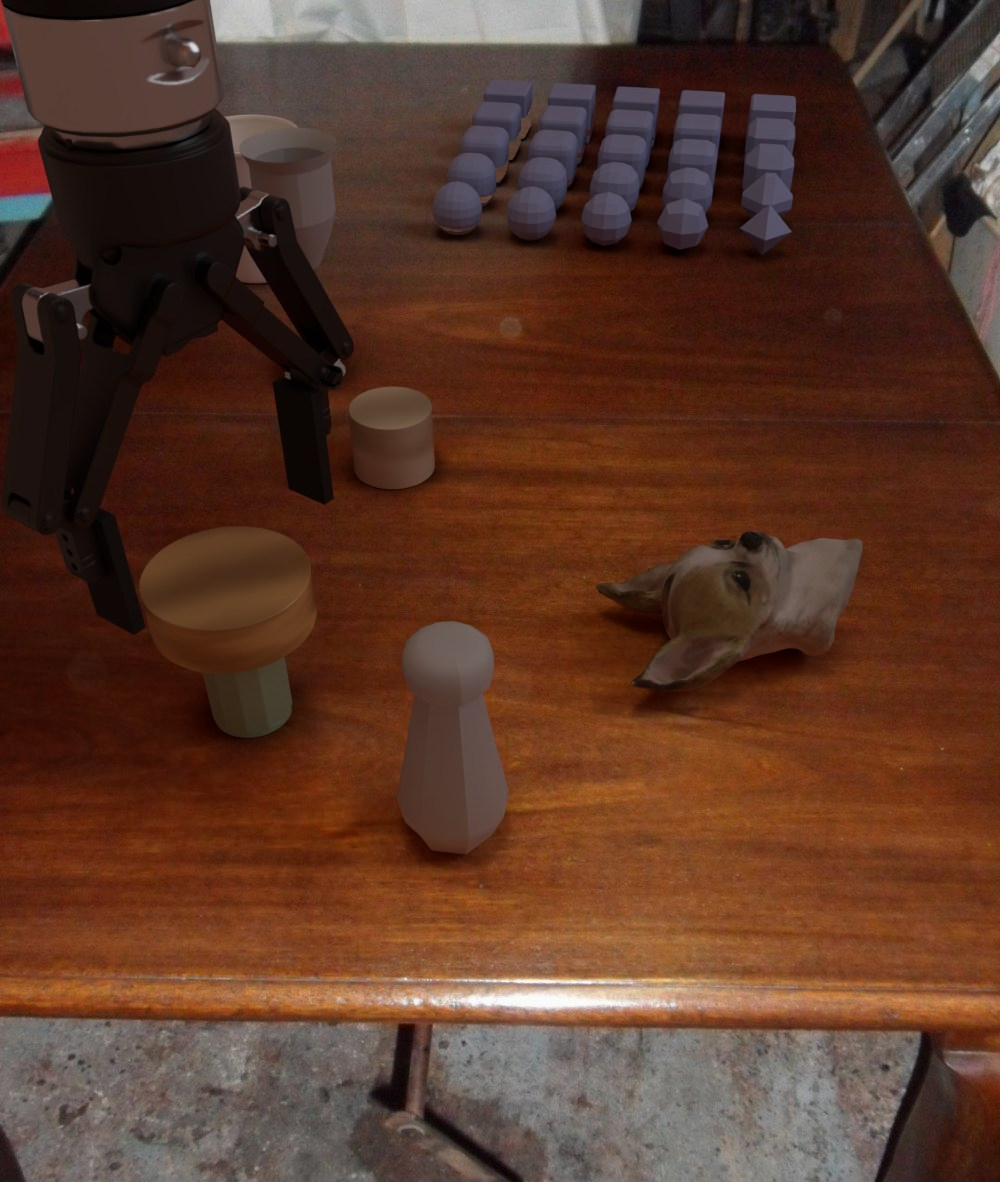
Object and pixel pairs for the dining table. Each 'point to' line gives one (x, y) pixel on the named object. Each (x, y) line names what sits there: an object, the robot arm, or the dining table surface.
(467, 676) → the salt shaker
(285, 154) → the chalice
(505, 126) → the blocks
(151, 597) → the wooden disc
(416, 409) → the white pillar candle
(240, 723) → the cup
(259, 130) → the white tapered vessel
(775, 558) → the ceramic sculpture
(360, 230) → the dining table surface
